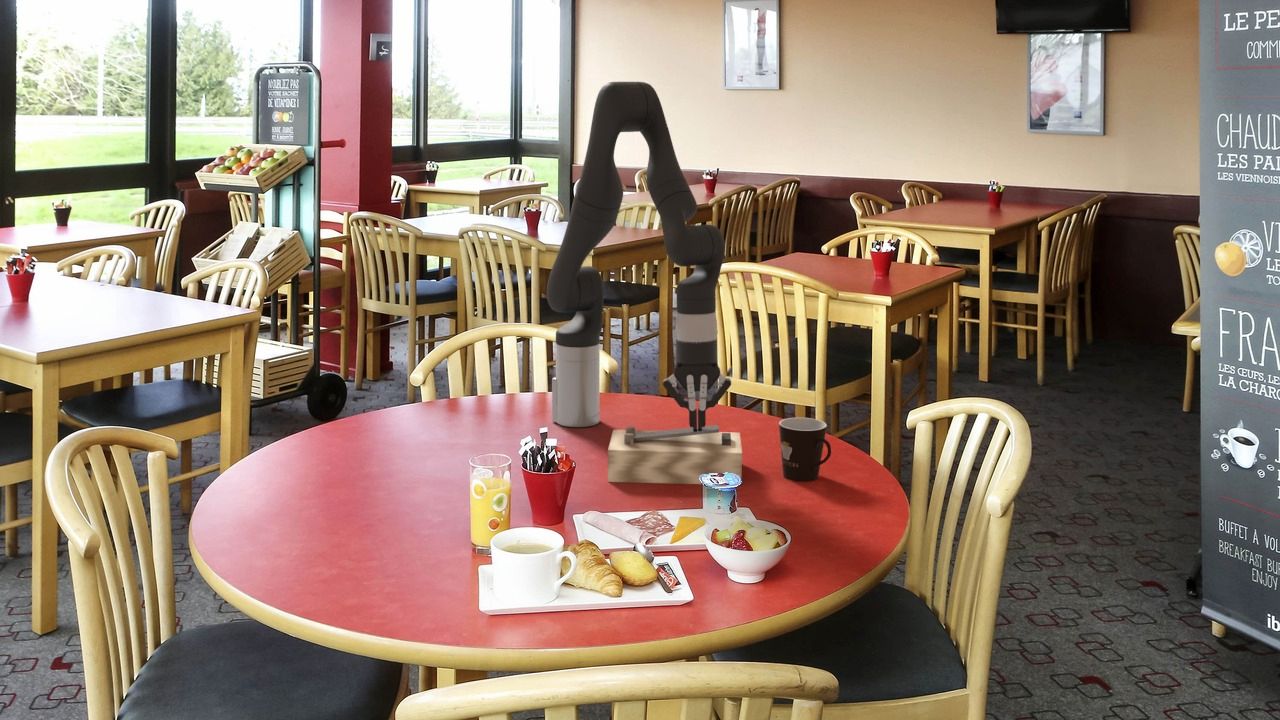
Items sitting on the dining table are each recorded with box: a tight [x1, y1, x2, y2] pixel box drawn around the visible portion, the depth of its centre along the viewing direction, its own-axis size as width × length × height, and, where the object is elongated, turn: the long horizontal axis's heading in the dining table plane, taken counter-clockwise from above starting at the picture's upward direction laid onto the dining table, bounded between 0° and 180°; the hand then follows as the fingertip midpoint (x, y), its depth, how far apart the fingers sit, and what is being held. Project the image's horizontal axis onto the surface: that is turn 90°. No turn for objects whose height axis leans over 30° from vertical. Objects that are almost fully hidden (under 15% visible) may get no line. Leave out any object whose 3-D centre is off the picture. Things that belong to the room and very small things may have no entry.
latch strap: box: [633, 424, 720, 441], centre depth 212 cm, size 16×3×1 cm, turn 86°
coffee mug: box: [778, 417, 832, 483], centre depth 210 cm, size 12×9×10 cm
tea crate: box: [607, 425, 743, 485], centre depth 213 cm, size 24×13×8 cm, turn 87°
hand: (697, 429), depth 212 cm, fingers closed
